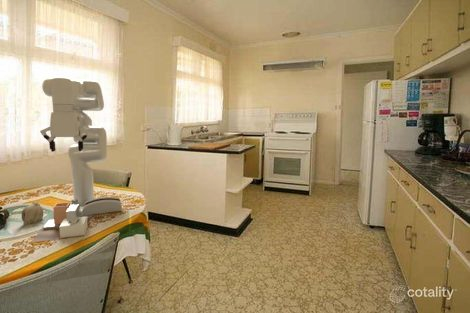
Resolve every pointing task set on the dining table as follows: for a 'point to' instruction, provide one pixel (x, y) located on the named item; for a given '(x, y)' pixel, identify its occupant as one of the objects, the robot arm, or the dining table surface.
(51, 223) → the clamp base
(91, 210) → the grey arched block
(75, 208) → the steel key
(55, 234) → the grey flat plate
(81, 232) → the white holed block
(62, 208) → the block
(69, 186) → the dining table surface
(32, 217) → the grey rounded lump
